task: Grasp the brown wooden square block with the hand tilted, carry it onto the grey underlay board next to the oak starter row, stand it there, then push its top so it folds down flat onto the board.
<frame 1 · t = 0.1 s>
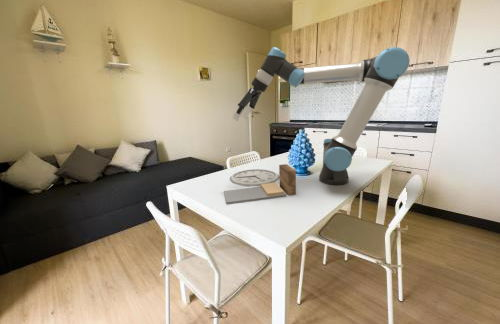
hand: (239, 118, 113), 36 cm above the table, tool tilted 35°, fingers open, 13 cm apart
brown wooden square block: (287, 190, 109), on the table
wall clock: (254, 178, 132), on the table
underlay board: (254, 194, 106), on the table
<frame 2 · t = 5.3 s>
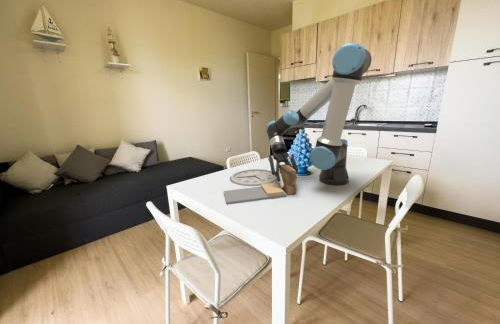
hand: (288, 185, 105), 4 cm above the table, tool tilted 45°, fingers open, 6 cm apart
nothing on the table moved.
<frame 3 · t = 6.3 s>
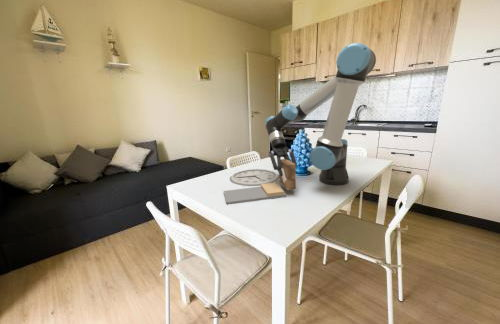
hand: (289, 180, 104), 6 cm above the table, tool tilted 45°, fingers closed on brown wooden square block, 4 cm apart
brown wooden square block: (287, 185, 108), point 3 cm above the table, touching gripper
everything else where it was.
when the fingers open (6 cm above the table, at t = 10.5 s): brown wooden square block drops 1 cm, resting on underlay board.
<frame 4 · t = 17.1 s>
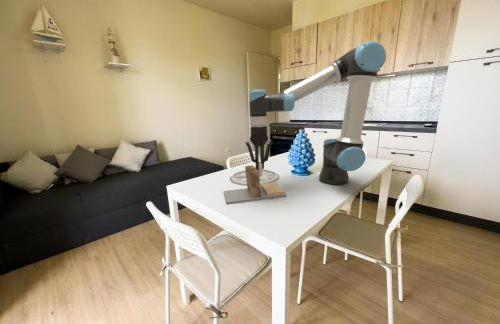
hand: (260, 175, 104), 9 cm above the table, tool pointing down, fingers closed
brown wooden square block: (254, 192, 106), point 1 cm above the table, touching gripper, underlay board
everything else where it was.
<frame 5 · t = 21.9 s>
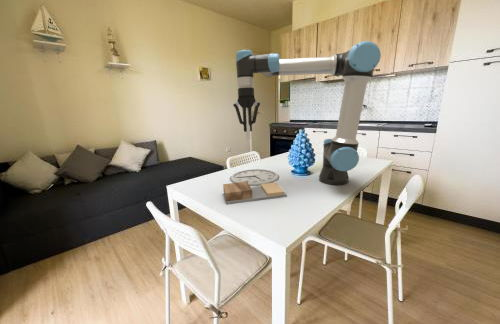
hand: (248, 138, 107), 26 cm above the table, tool pointing down, fingers closed
brown wooden square block: (249, 189, 105), point 3 cm above the table, tilted 90°, touching underlay board
everything else where it was.
at the end: brown wooden square block tilted 90°; brown wooden square block inside the target area (4.9 cm from its centre), point 3.0 cm above the table; the gripper is holding nothing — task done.
